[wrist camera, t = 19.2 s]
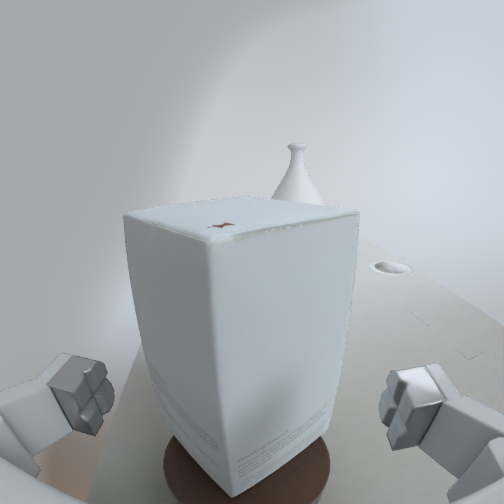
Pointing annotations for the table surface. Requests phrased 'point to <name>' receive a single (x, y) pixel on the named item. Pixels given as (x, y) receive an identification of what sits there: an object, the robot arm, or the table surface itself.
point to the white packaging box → (243, 325)
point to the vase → (297, 180)
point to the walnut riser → (261, 494)
